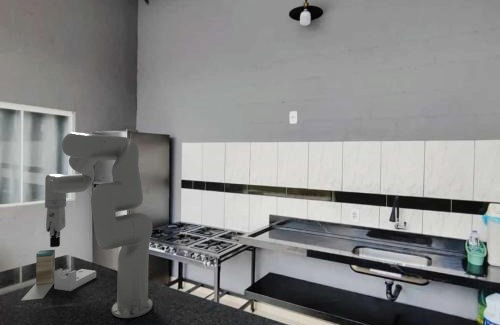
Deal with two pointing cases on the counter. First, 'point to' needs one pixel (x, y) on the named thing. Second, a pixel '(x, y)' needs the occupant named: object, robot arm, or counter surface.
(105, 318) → the counter surface
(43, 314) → the counter surface
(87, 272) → the bracket
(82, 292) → the counter surface
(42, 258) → the maple block
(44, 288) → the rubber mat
